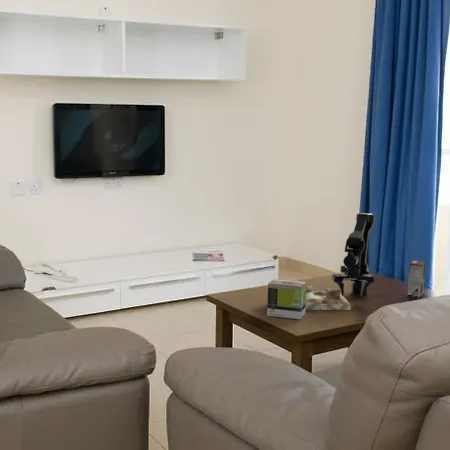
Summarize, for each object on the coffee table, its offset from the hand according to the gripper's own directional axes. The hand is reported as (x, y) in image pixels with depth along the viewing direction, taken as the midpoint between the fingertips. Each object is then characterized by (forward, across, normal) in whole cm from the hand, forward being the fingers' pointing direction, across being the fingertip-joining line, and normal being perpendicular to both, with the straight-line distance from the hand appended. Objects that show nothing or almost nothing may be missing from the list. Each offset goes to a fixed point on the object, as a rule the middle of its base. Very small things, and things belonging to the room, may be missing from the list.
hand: (351, 296), depth 340 cm
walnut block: (+1, +9, 0) cm, 9 cm away
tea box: (+4, +34, +18) cm, 39 cm away
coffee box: (+4, -36, -16) cm, 40 cm away
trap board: (+3, +14, 0) cm, 14 cm away
